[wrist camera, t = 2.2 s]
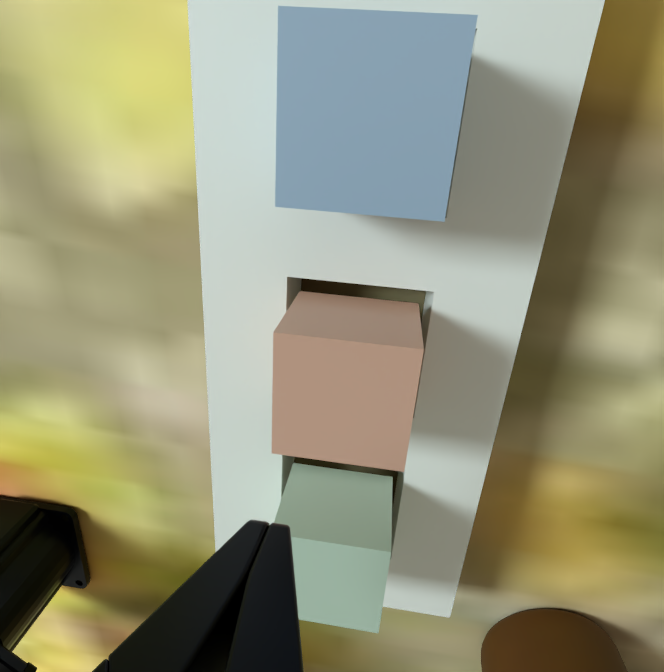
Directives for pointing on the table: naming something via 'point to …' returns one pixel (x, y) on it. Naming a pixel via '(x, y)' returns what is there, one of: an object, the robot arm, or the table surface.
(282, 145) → the button slate
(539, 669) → the mug
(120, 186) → the table surface
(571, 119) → the panel
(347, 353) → the button terracotta
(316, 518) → the button sage
